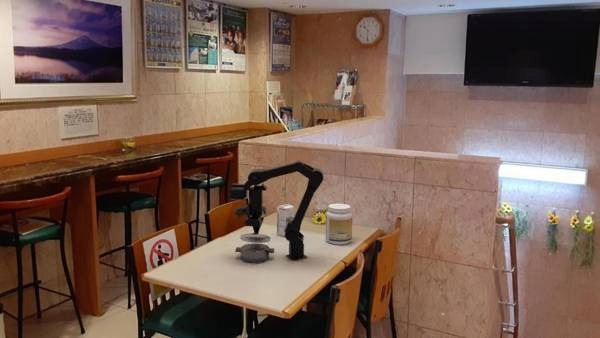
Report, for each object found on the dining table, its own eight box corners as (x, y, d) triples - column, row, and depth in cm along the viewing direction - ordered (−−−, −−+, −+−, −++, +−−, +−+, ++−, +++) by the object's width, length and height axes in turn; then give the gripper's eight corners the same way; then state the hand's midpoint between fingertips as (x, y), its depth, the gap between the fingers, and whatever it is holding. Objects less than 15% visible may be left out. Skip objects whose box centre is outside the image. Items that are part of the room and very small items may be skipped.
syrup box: (284, 232, 245) (284, 203, 243) (293, 234, 241) (294, 205, 239) (276, 235, 241) (276, 205, 238) (286, 237, 237) (286, 208, 235)
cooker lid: (242, 242, 215) (243, 236, 216) (271, 243, 214) (272, 237, 215) (238, 235, 203) (238, 229, 204) (268, 236, 202) (269, 230, 203)
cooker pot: (277, 259, 208) (277, 248, 207) (248, 266, 200) (248, 255, 199) (261, 250, 218) (261, 240, 217) (232, 257, 210) (232, 246, 209)
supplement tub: (356, 243, 230) (357, 207, 227) (333, 246, 225) (334, 210, 222) (342, 235, 241) (343, 201, 238) (320, 239, 236) (321, 204, 233)
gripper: (240, 193, 217) (241, 227, 221) (232, 206, 199) (233, 242, 203) (266, 194, 216) (266, 227, 220) (259, 207, 198) (260, 243, 202)
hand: (256, 235), depth 211 cm, fingers closed, pressing on cooker lid
